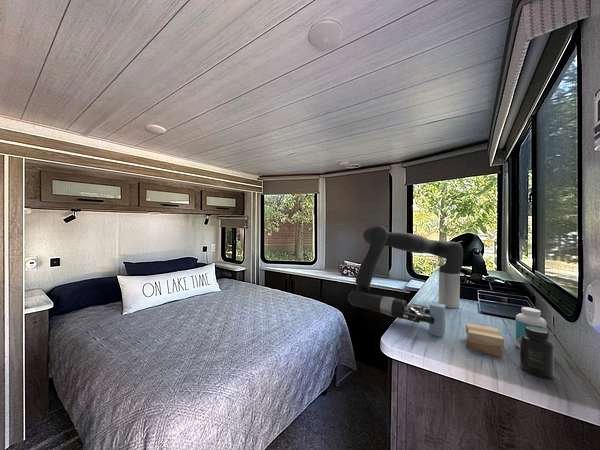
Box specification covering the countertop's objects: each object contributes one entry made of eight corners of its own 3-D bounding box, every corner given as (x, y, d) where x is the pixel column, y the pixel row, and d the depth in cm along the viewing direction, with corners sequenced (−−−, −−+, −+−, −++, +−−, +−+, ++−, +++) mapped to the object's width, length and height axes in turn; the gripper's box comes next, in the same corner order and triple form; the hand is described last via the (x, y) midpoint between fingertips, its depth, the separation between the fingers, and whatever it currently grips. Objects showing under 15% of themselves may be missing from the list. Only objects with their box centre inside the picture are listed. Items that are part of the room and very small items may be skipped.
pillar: (431, 329, 92) (432, 302, 92) (444, 333, 89) (445, 304, 89) (429, 333, 89) (429, 304, 89) (442, 337, 86) (443, 307, 86)
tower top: (465, 330, 86) (465, 322, 86) (496, 337, 82) (497, 328, 82) (469, 341, 78) (469, 332, 78) (503, 348, 74) (504, 339, 74)
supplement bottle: (560, 377, 64) (561, 334, 64) (540, 380, 63) (541, 335, 63) (531, 363, 71) (532, 323, 71) (513, 364, 70) (514, 324, 70)
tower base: (468, 338, 86) (468, 330, 86) (500, 347, 81) (500, 338, 81) (465, 348, 79) (466, 339, 79) (500, 358, 74) (501, 349, 74)
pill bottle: (549, 358, 74) (550, 315, 74) (517, 350, 78) (518, 310, 78) (542, 347, 80) (543, 308, 80) (513, 341, 84) (514, 304, 84)
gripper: (387, 302, 94) (432, 313, 84) (399, 294, 105) (440, 303, 95) (387, 320, 94) (432, 333, 84) (398, 311, 105) (440, 321, 95)
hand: (436, 317), depth 89 cm, fingers open, 8 cm apart
